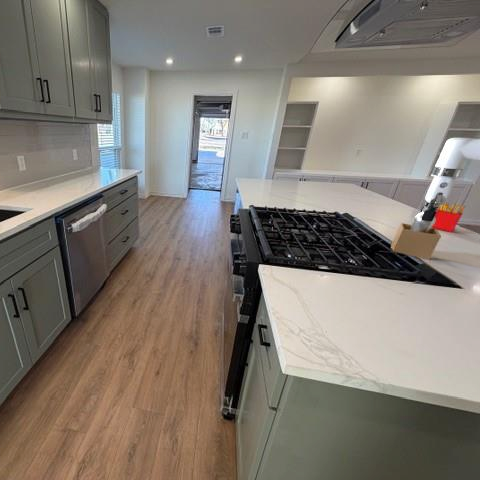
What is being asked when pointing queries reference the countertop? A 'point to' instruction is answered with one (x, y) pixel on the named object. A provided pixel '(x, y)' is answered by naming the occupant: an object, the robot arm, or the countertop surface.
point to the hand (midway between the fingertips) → (425, 218)
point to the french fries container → (447, 217)
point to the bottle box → (415, 241)
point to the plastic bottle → (422, 223)
